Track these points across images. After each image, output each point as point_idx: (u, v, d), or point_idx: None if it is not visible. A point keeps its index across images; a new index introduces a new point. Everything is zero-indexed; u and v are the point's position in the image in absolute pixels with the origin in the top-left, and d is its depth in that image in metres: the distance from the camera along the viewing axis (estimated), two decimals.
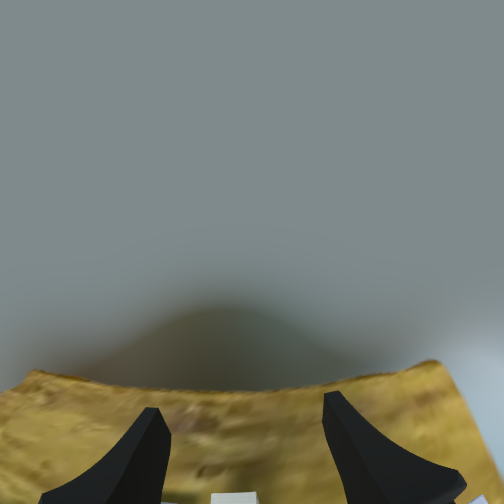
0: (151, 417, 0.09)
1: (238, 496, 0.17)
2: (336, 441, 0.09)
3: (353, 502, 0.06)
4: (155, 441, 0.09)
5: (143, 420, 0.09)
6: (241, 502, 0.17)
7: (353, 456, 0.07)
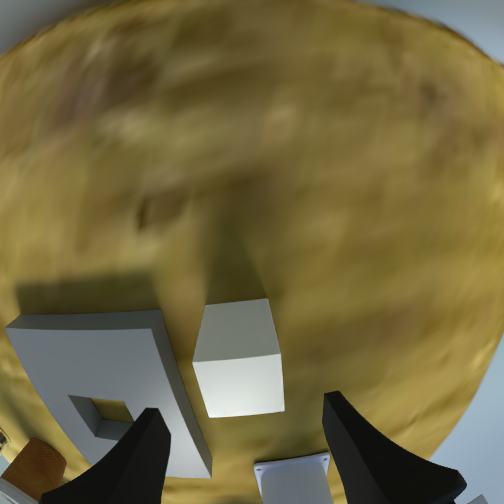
0: (151, 417, 0.09)
1: (247, 365, 0.12)
2: (336, 441, 0.09)
3: (353, 502, 0.06)
4: (155, 441, 0.09)
5: (143, 420, 0.09)
6: (254, 375, 0.12)
7: (353, 456, 0.07)
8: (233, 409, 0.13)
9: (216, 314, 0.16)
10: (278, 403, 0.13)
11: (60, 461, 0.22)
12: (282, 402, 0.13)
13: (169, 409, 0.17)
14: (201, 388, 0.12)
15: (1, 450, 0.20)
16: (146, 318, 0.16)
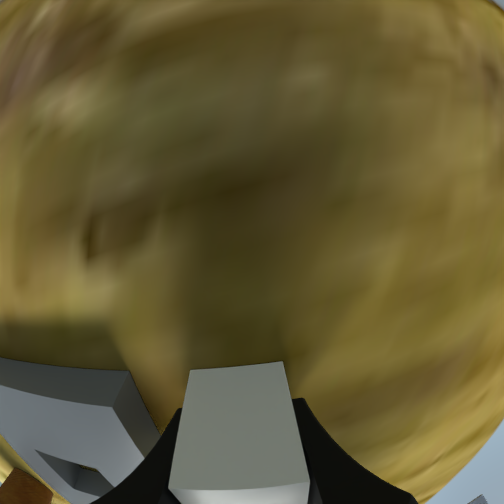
0: None
1: (255, 494, 0.06)
2: None
3: None
4: None
5: (179, 421, 0.09)
6: (265, 499, 0.06)
7: (308, 466, 0.07)
8: None
9: (206, 391, 0.10)
10: None
11: (45, 493, 0.16)
12: None
13: None
14: None
15: None
16: (108, 386, 0.10)
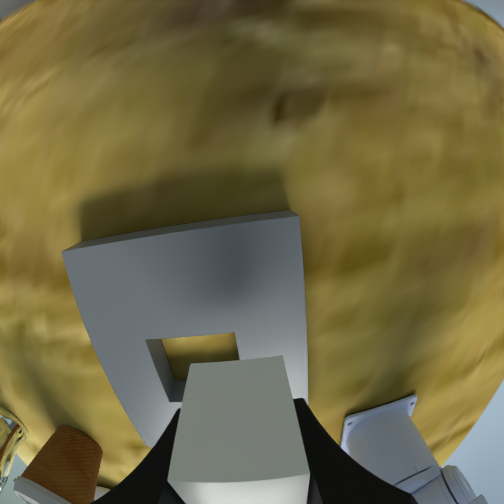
0: None
1: (255, 487, 0.06)
2: None
3: None
4: None
5: None
6: (265, 493, 0.06)
7: None
8: None
9: (206, 384, 0.10)
10: None
11: (97, 451, 0.22)
12: None
13: (294, 334, 0.16)
14: (185, 501, 0.06)
15: (17, 444, 0.20)
16: (282, 214, 0.15)
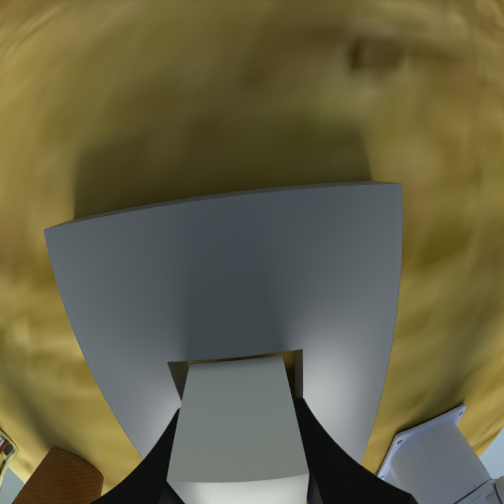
0: None
1: (254, 487, 0.06)
2: None
3: None
4: None
5: None
6: (264, 493, 0.06)
7: (308, 466, 0.07)
8: None
9: (205, 384, 0.10)
10: None
11: (97, 478, 0.16)
12: None
13: (377, 347, 0.11)
14: (185, 501, 0.06)
15: (7, 463, 0.15)
16: (371, 182, 0.10)
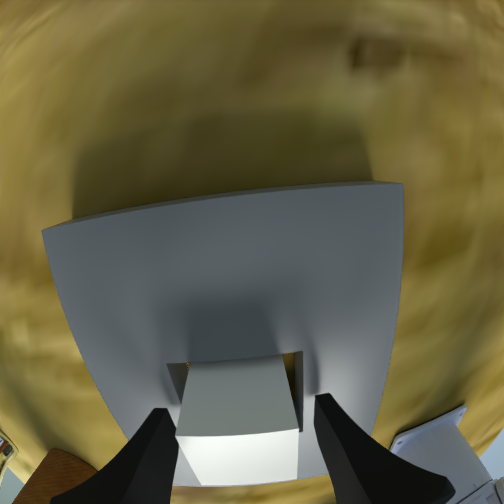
0: (160, 417, 0.09)
1: (251, 441, 0.08)
2: (326, 443, 0.09)
3: None
4: (164, 442, 0.09)
5: (152, 421, 0.09)
6: (260, 450, 0.08)
7: (341, 459, 0.07)
8: (231, 479, 0.08)
9: None
10: (290, 473, 0.08)
11: None
12: (295, 472, 0.08)
13: (378, 348, 0.11)
14: (189, 460, 0.08)
15: (6, 463, 0.14)
16: (372, 182, 0.10)
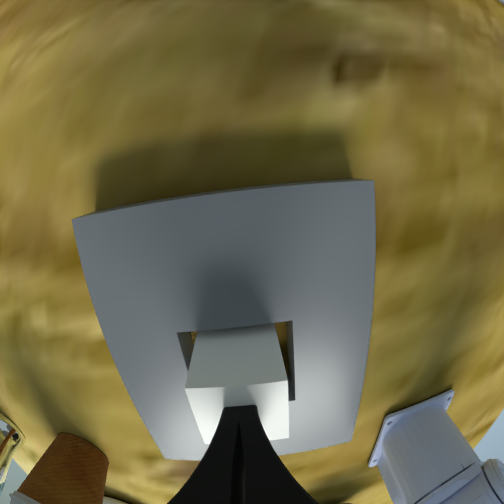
0: (237, 416, 0.09)
1: (248, 393, 0.10)
2: None
3: None
4: (241, 441, 0.09)
5: (229, 420, 0.09)
6: (256, 403, 0.10)
7: None
8: None
9: None
10: (283, 430, 0.11)
11: (103, 461, 0.19)
12: (287, 429, 0.11)
13: (358, 321, 0.13)
14: (195, 415, 0.10)
15: (13, 451, 0.17)
16: None
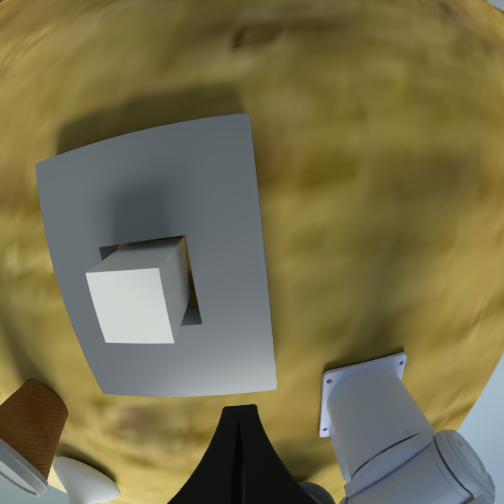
0: (237, 416, 0.09)
1: (129, 279, 0.12)
2: None
3: None
4: (241, 441, 0.09)
5: (229, 420, 0.09)
6: (137, 292, 0.12)
7: None
8: (124, 333, 0.13)
9: (130, 247, 0.16)
10: (166, 332, 0.13)
11: (60, 408, 0.21)
12: (169, 331, 0.13)
13: (249, 240, 0.15)
14: (94, 304, 0.12)
15: None
16: None
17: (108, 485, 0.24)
